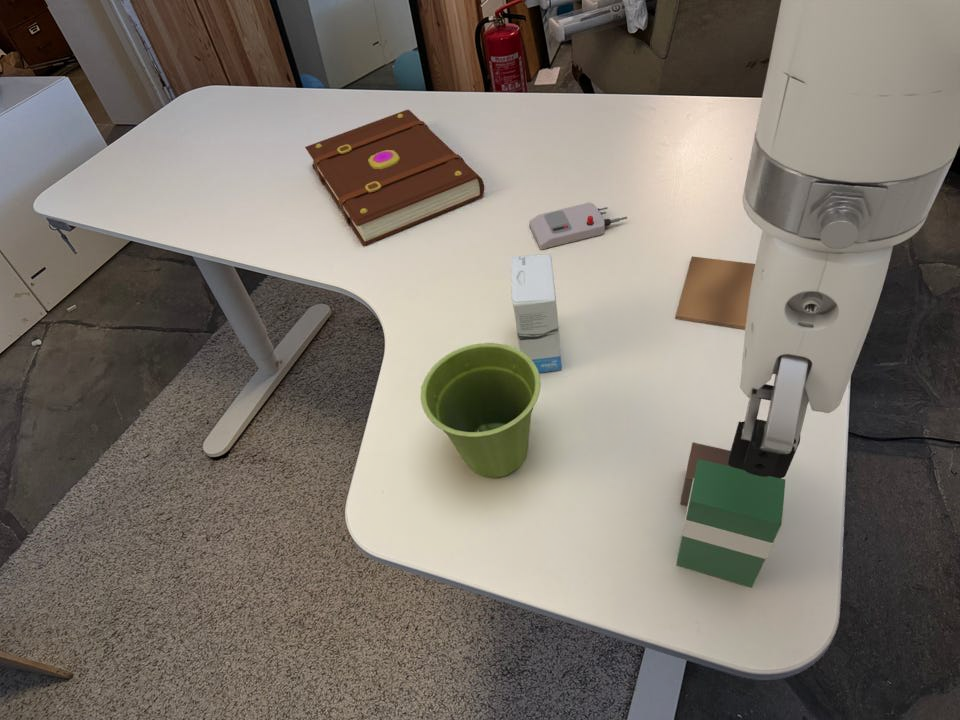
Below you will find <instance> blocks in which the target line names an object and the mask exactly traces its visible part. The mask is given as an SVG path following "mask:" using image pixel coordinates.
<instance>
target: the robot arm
mask: <svg viewBox="0 0 960 720" xmlns="http://www.w3.org/2000/svg"><path fill="white" fill-rule="evenodd" d="M768 61H769V62H768V65H767V71H766V77H765V81H764V86H763V91H762V96H761V101H760V107H759V113H758V116H757V121H756V126H755V133H754V135H753V136H754V137H753V141H752V147H751V153H750V157H749V163H748V167H747V172H746V177H745V184H744V188H743V193H742V199H741V200H742V205H743V210H744V211H745V213H746V215H747V217H748V218H749V219H750V221H752V223H753V224H755V226H756V227H758V228H759V229H760V230H761V236H760V239H759V244H758V249H757V253H756V259H755V263H754V264H755V268H754V273H753V278H752V284H751V290H750V297H749V304H748V311H747V319H746V327H745V329H744V337H743V338H744V339H743V349H742V350H743V351H742V358H741V359H742V360H741V370H740V371H741V374H740V384H739V385H740V386H739V387H740V390H741V391H742V393H743V395H745V396H746V397H747V398H749V399H748V404H747V408H746V412H745V417H744V421H738V423H737V427H736V430H735V434H734V437H733V442H732V444H731V448H730V450H729V451H730V455H729V461H728V464H729V466H731V467H733V468H737V469H741V470H745V471H746V472H748V473H750V474H753V475H757V476H762V477H768V476H771V477H776V478H782V479H785V477H786V476H787V475H788V474H787V473H788V471H789V469H790V467H791V465H792V462H793V459H794V457H795V454H796V452H797V450H798V447H799V445H800V442H801V434H802V428H803V425H804V421H805V418H806V413H807V410H808V409H807V408H808V405H809V406H810V408H811V411H812V412H819V413H824V414H831V413H832V412H834V411H835V410H837V409H838V408H839V407H840V404H841V403H842V400H843V398H844V395H845V392H846V390H847V387H848V385H849V382H850V380H851V377H852V374H853V371H854V369H855V366H856V365H857V361H858V359H859V357H860V353H861V351H862V348H863V345H864V343H865V341H866V338H867V335H868V332H869V331H870V327H871V324H872V322H873V318H874V315H875V312H876V310H877V306H878V303H879V300H880V297H881V294H882V291H883V287H884V283H885V281H886V277H887V273H888V269H889V265H890V262H891V257H892V254H893V253H892V252H893V248H894V246H896V245H899V244H901V243H903V242H905V241H907V240H908V239H911V238H912V237H913V236H914V235H916V234H917V233H918V232H919V231H920V229H921V228H922V227H923V226H924V224H925V221H926V219H927V218H928V216H929V212H930V210H931V209H932V207H933V204H934V203H935V200H936V198H937V196H938V194H939V191H940V190H941V187H942V185H943V183H944V180H945V178H946V176H947V174H948V172H949V169H950V168H951V167H952V163H953V161H954V159H955V157H956V155H957V152H958V150H959V148H960V0H780V4H779V9H778V15H777V21H776V25H775V31H774V37H773V40H772V47H771V51H770V56H769V60H768ZM773 375H774V380H773V385H772V384H768V382H770V381H771V380H772V377H773ZM762 400H765V401H769V406H768V407H769V408H768V412H767V418H766V420H763V419H758V416H759V412H760V411H759V410H760V406H761V402H762Z"/></svg>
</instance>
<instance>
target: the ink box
mask: <svg viewBox="0 0 960 720" xmlns="http://www.w3.org/2000/svg"><path fill="white" fill-rule="evenodd" d="M552 259H553V258H552V254H551V253H550V252H549V253H540V254H539V253H537V254H529V255H520V256H519V255H518V256H511V259H510V274H511V275H510V282H511V283H510V284H511V289H510V291H511V292H510V293H511V301H512V306H513V314H514V321H515V329H516V335H517V341H518V347H519V350H520V351H522V352H523V353H524V354H526V355H527V356H528V357H529V358H530V359H531V360H532V361H533V362H534V364H535V365H536V367H537V369H538V372H539V374H540V373H548V372H557V371H562V357H561V344H560V327H559V316H558V305H557V296H556V287H555V285H556V284H555V278H554V277H555V276H554V270H553V269H554V268H553V260H552Z"/></svg>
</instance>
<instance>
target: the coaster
mask: <svg viewBox="0 0 960 720" xmlns="http://www.w3.org/2000/svg"><path fill="white" fill-rule="evenodd" d="M754 268H755V263H752V262H751V263H750V262H742V261H734V260H726V259H718V258H709V257H701V256H691V258H690V262H689V265H688V269H687V273H686V276H685V281H684V284H683V288H682V291H681V294H680V298H679V303H678V306H677V310H676V313H675V320H682V321H689V322H695V323H701V324H707V325H708V324H709V325H713V326H719V327H726V328H733V329H740V330H745V327H746V319H747V311H748V304H749V297H750V290H751V284H752V278H753V273H754Z"/></svg>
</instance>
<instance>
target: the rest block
mask: <svg viewBox="0 0 960 720" xmlns="http://www.w3.org/2000/svg"><path fill="white" fill-rule="evenodd" d="M730 451H731V450H729V449H726V448H725V449H724V448H720V447H716V446H711V445H708V444H707V445H706V444H702V443H698V442H691V447H690V451H689V457H688V462H687V466H686V471H685V476H684V481H683V486H682V492H681V497H680V502H679V504H680V505H683V506H687V507H688V502H689V497H690V492H691V487H692V482H693V478H694V476H695V472H696V467H697V462H698V459H700V460H704V461H708V462H713V463H717V464H721V465H726V466H729V464H728V461H729V455H730ZM730 467H731V466H730ZM781 479H783V478H781Z"/></svg>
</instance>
